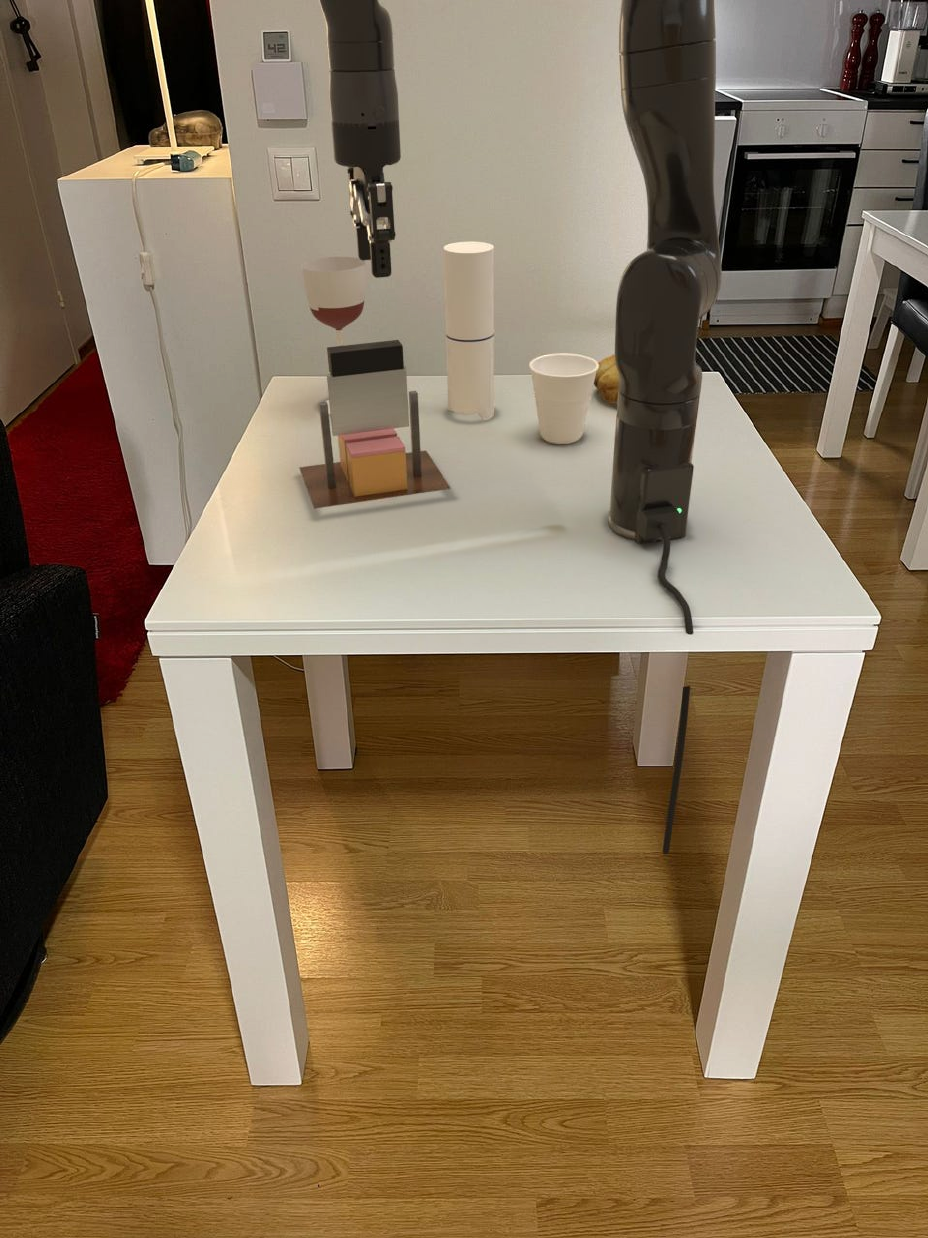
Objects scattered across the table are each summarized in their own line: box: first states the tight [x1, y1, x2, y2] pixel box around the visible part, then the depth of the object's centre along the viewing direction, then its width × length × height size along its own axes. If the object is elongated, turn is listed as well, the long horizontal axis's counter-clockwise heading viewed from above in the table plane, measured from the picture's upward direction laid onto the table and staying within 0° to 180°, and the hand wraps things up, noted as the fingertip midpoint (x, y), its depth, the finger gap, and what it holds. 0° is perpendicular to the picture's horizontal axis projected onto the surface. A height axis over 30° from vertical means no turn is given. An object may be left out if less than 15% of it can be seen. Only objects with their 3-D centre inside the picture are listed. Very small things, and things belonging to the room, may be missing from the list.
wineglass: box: [300, 256, 367, 415], centre depth 149 cm, size 9×10×22 cm
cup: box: [528, 352, 599, 445], centre depth 140 cm, size 10×10×11 cm
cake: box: [337, 428, 407, 497], centre depth 128 cm, size 10×7×6 cm
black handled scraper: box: [326, 339, 410, 437], centre depth 122 cm, size 2×10×11 cm, turn 106°
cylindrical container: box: [443, 241, 495, 422], centre depth 145 cm, size 7×7×25 cm
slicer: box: [298, 390, 452, 509], centre depth 126 cm, size 13×18×13 cm
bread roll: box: [593, 354, 619, 404], centre depth 153 cm, size 13×10×8 cm
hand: (374, 267), depth 116 cm, fingers open, 8 cm apart
